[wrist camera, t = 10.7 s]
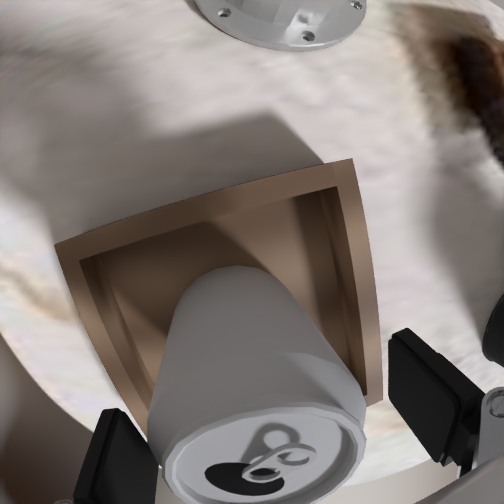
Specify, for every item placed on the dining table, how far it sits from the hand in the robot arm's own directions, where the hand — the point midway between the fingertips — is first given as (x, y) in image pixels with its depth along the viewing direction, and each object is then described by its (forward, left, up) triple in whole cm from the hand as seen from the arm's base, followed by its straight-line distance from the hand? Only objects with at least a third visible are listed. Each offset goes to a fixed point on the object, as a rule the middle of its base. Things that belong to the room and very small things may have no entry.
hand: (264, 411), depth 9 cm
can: (+1, 0, -10) cm, 10 cm away
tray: (+1, 0, -11) cm, 11 cm away
